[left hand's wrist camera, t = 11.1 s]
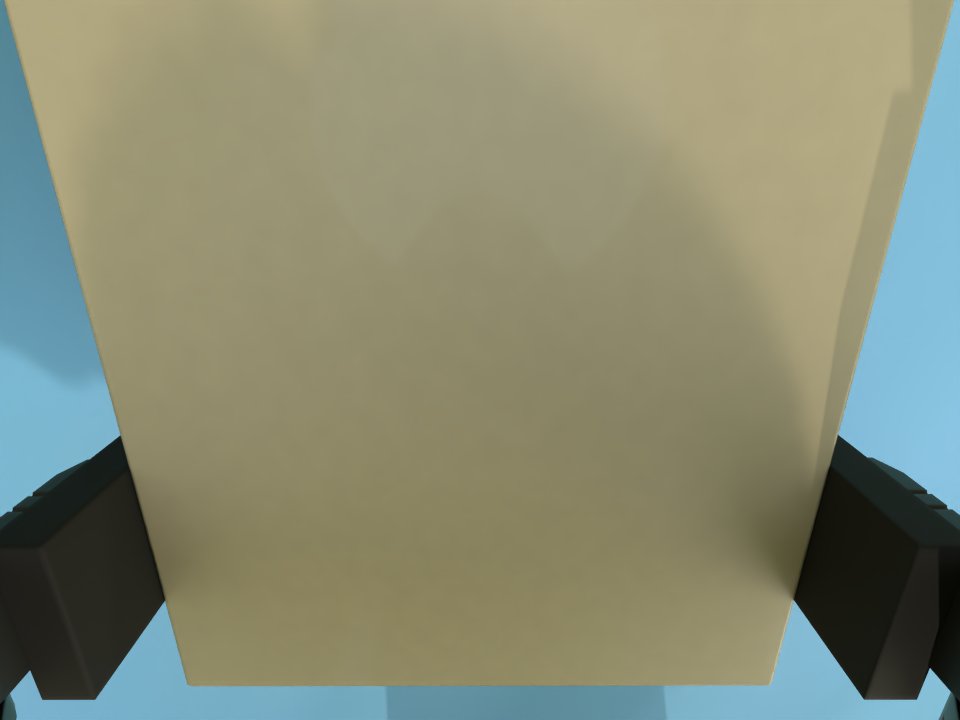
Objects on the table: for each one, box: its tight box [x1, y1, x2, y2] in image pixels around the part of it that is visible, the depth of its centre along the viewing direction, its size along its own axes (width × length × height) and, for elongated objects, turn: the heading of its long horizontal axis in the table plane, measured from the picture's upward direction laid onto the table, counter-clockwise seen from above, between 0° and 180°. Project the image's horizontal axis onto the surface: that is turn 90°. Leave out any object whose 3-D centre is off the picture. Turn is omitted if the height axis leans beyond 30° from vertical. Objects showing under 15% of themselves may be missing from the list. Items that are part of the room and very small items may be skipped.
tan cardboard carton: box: [4, 0, 954, 686], centre depth 11 cm, size 20×11×10 cm, turn 0°
